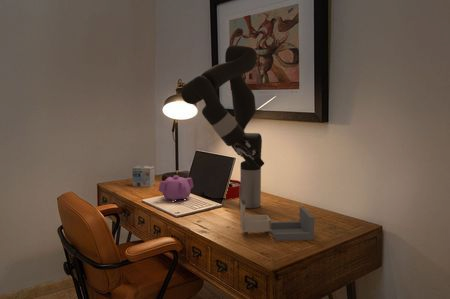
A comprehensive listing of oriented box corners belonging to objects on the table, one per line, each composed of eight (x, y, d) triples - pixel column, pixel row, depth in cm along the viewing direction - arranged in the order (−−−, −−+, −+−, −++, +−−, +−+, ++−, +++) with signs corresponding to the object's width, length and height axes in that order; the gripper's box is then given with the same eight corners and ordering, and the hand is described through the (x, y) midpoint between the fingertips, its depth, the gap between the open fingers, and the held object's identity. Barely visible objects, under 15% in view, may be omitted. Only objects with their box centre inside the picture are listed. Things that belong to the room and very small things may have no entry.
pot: (167, 206, 182) (166, 181, 180) (152, 198, 196) (151, 174, 195) (201, 200, 192) (201, 176, 190) (184, 193, 206) (184, 170, 205)
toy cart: (239, 229, 147) (240, 196, 146) (267, 228, 148) (267, 195, 146) (242, 236, 140) (242, 201, 139) (270, 235, 141) (271, 200, 140)
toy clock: (195, 183, 204) (224, 177, 217) (195, 194, 205) (224, 188, 218) (221, 189, 189) (250, 183, 202) (221, 201, 190) (250, 194, 203)
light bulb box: (132, 186, 221) (131, 167, 220) (137, 184, 228) (136, 165, 226) (150, 187, 219) (150, 168, 218) (155, 184, 226) (154, 165, 225)
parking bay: (268, 228, 152) (268, 207, 150) (303, 227, 153) (303, 206, 152) (275, 240, 138) (275, 218, 137) (313, 239, 139) (314, 217, 138)
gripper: (244, 121, 127) (273, 158, 132) (228, 121, 140) (255, 155, 145) (227, 137, 125) (258, 174, 130) (212, 135, 139) (241, 169, 143)
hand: (256, 164), depth 137 cm, fingers open, 8 cm apart
